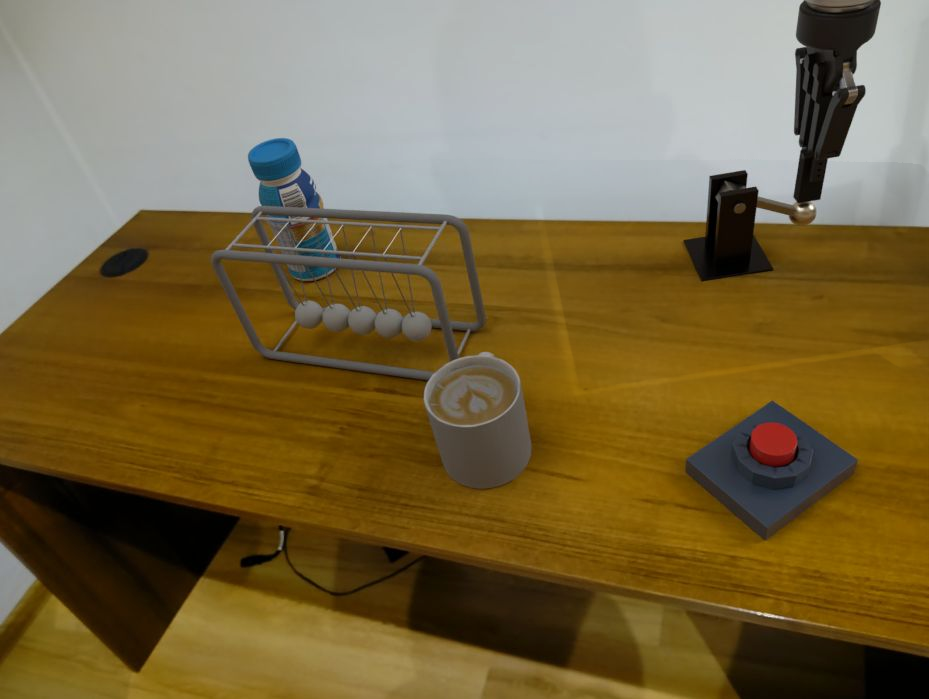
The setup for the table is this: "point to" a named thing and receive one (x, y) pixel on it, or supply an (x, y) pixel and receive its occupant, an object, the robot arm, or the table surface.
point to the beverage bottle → (291, 202)
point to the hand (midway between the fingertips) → (806, 198)
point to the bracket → (728, 232)
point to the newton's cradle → (361, 317)
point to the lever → (780, 206)
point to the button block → (769, 472)
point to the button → (773, 444)
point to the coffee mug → (479, 420)
